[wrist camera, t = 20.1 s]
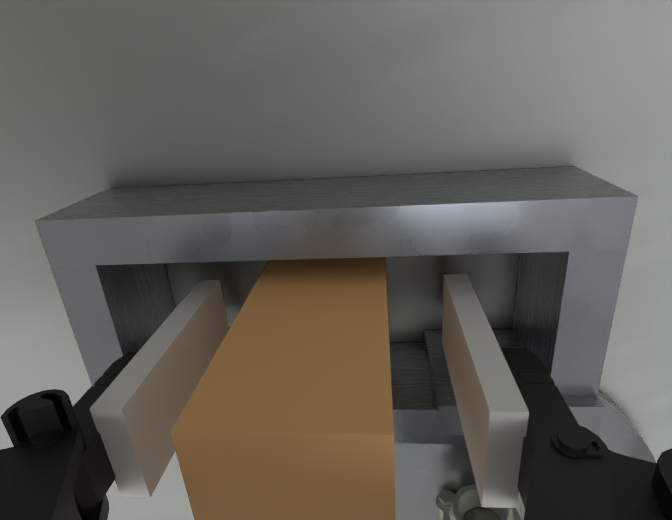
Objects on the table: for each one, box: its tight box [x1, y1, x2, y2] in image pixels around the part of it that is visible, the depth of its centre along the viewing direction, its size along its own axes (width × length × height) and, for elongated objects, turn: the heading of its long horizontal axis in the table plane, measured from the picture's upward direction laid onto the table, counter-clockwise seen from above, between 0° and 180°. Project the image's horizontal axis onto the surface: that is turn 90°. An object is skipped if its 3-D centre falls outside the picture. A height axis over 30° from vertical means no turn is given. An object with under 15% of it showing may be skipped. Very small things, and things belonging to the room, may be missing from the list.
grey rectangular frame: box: [35, 166, 638, 444], centre depth 16 cm, size 9×17×4 cm, turn 94°
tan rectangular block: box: [171, 257, 395, 520], centre depth 13 cm, size 4×4×10 cm
